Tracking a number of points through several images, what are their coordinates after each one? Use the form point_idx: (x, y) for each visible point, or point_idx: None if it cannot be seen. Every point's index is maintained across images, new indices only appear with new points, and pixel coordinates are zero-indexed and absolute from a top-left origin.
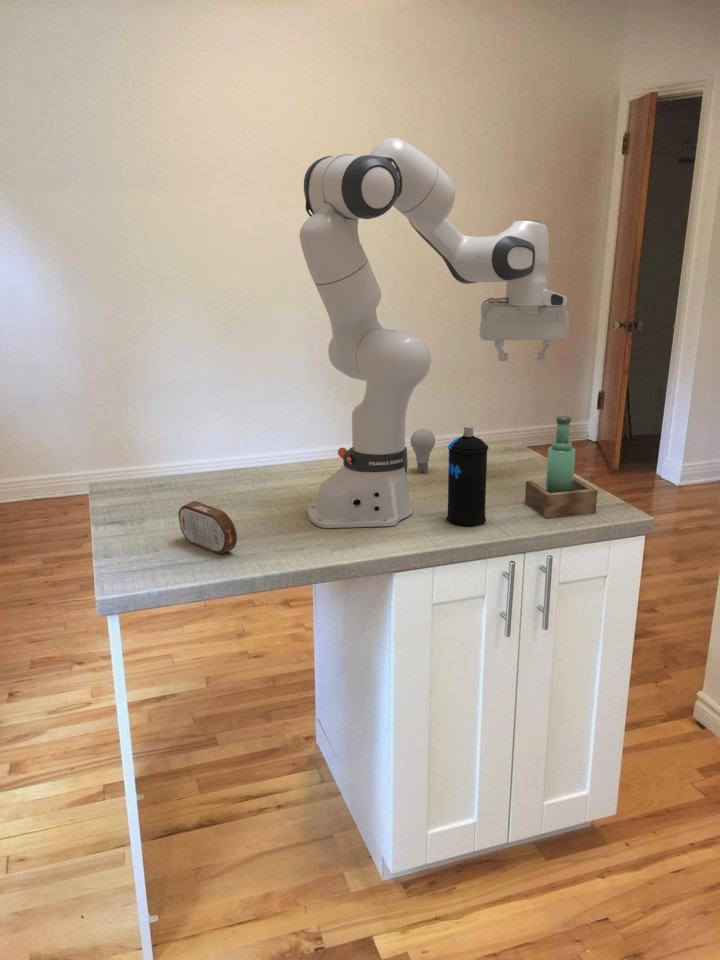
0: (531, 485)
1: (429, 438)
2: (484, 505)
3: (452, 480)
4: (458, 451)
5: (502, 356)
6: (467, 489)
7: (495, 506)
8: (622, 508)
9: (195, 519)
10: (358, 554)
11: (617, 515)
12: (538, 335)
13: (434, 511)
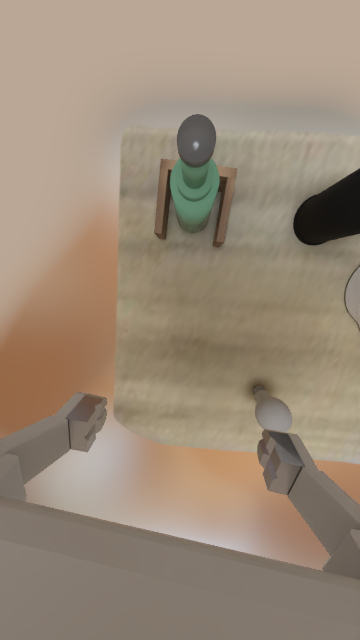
0: (226, 224)
1: (275, 407)
2: (320, 193)
3: None
4: None
5: (305, 450)
6: None
7: (257, 249)
8: (126, 177)
9: None
10: None
11: (146, 156)
12: (32, 568)
13: (329, 264)
